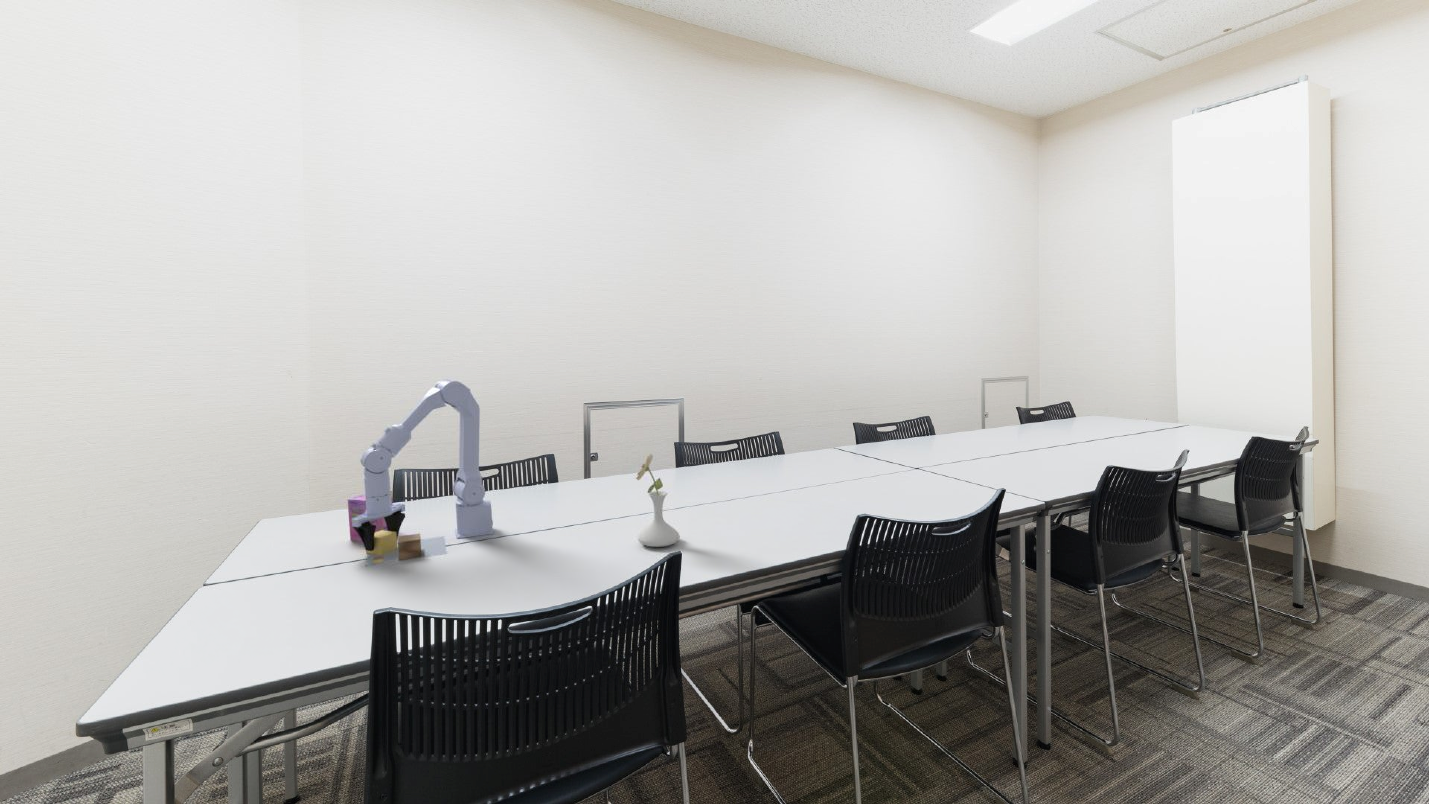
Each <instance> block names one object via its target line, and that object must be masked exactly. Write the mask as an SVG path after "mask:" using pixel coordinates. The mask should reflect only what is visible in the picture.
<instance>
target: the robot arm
mask: <svg viewBox="0 0 1429 804" xmlns="http://www.w3.org/2000/svg"><path fill="white" fill-rule="evenodd" d="M447 405H449V406H450V407H452V409H454V410H455V411H456V412H458V413H459V447H458V448H459V450H458V451H459V452H458V454H459V457H458V458H459V459H458V461H459V462H458V463H459V464H458V465H459V466H458V470H457V472H456V479H455V481H454V483H453V485H452V491H453V495H454V496H456V497H457V499H456V500H455V515H456V529H455V530H454V532H455V537H456V539H458V540H459V539H465V538H472V537H477V536H487V535H492V534H493V533H494V532H493V525H494V521H493V515H492V514H493V513H492V511H493V510H492V503H491V500H484V498H485V495H486V489H485V486H484V484H483V477H482V475H481V472H480V469H479V468H480V466H479V465H480V462H479V461H480V422H481V421H480V420H481V419H480V415H481V412H480V411H481V408H480V405H479V404H478V402H477V400H476V399H475V397H474V395H473V394H472V393H471V389H470V388H469V387H467V386H466V385H465V384H463V382H460V381H457V380H450V379H442V380H439V381H438V382H436V383H435V385H434V386H433V387H432V388H430V389H429V390H428V391H427V392H426V394H425V395H423V397H422V398H421V400H420V401H418V402H417V404H416V405H415V406H414V408H413V409H412V410H411V411H410V412H409V413H408V414H407V415H406V417H405V418H404V419H403V420H402V421H401V423H399V424H392V425H391V426H390V427H385V429H384V430H383V432H384V433H383V434H382V436H381V437H380V438H378V440H376V442H375V443H374V442H372V444H371V445H370V447H371V448H369V449H367V450H365V451H364V452H363V454H362V456H361V458H360V463H361V465H362V467H363V469H364V471H363V475H364V478H363V481H364V494H365V497H366V511H365V513H364V514H362V515H360V516H358V517H356V518H353V519H352V526H353V528H354V529H355V530H356V532H357V533H358V534H359V536H360V538H361V540H362V541H361V542H362V543H363V547H364V550H365V551H366V550H367V551H373V550H374V534H375V529H376V525H371V523H370V522H372V521H375V520H377V519H380V518H383V517H384V519H385V522H386V525H387V530H388V531H393V532H396V536H397V539H398V537H399V533H400V530H401V527H402V523H403V522H404V520H405V519H406V514H405V513H404V512H405V511H406V503H396V504H393V505H391V491H392V490H391V480H390V479H391V478H390V475H389V468H390V467H391V465H392V459H393V458H395V457H396V456H397V455H398V454H399V452H400V451H401V450H403V448H404V447H405V446H406V445H407V444H408V443H409V442H410V441H411V439H412V431H413V430H414V429H415V428H416V427H417V426H419V424H420V423H421V422H422V421H423V420H424V419H425V418H426V417H428V415H429V414H431V412H433V410H436V409H441V408H444V407H447Z"/></svg>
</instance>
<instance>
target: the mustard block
mask: <svg viewBox="0 0 1429 804" xmlns="http://www.w3.org/2000/svg"><path fill="white" fill-rule="evenodd" d="M397 543H398V538H397V536H396V532H393V531H385V530H381V531H378V532H375V534H374V550H373V551H367V550H365V552H366V554H369V553H370V554H377V555H383V554H385V553H388V552H390V551H392V550H395V549H397Z"/></svg>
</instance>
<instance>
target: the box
mask: <svg viewBox="0 0 1429 804" xmlns="http://www.w3.org/2000/svg"><path fill="white" fill-rule="evenodd" d="M390 491H391V505H394V504H393V491H392V490H390ZM347 509H348V522H349V523H348V526H349V538H350V541H359V542H360V541H361V542H362V540H361V538H360V536H359V534H358V533H357V532H356V530H355V529H354V528H353V526H352V519H353V518H356V517H358V516H360V515H362V514H364V513H365V511H366V497H365V493H363V494H360V495H357V496H354V497H351V498H349V499H347ZM370 523H371V525H376V529H375V532H378V531H381V530H385V531H388V530H387V525H386V522H385V519H384V517H383V518H380V519H377V520H375V521H372V522H370Z"/></svg>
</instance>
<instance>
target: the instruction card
mask: <svg viewBox="0 0 1429 804" xmlns="http://www.w3.org/2000/svg"><path fill="white" fill-rule="evenodd" d="M445 539H446V538H445V536H444V535H443V536H436V537H430V538H429V537H428V538H422V539H421V557H414V558H408V559H401V560H399V550H398V542H397V549H395V550H392V551H390V552H388V553H385V554H383V555H377V554H370V553H367V554H368V555H367V559H366V563H365V566H366V567H368V566H375V565H380V564H386V563H395V562H400V561H402V562H403V561H407V560H415V559H420V558H428V557H433V556H440V555H446V554H447V549H446V547H447V546H446V540H445Z"/></svg>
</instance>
